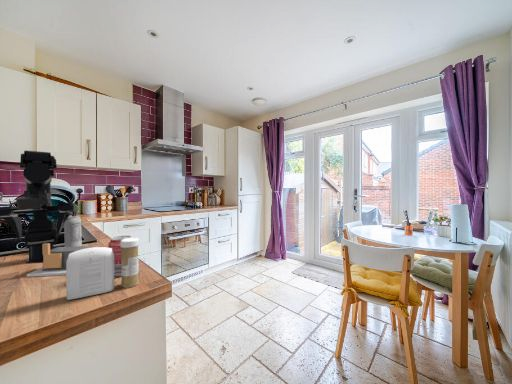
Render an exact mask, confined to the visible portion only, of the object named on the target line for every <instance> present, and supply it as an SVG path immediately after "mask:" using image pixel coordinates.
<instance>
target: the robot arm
mask: <svg viewBox="0 0 512 384" xmlns="http://www.w3.org/2000/svg"><path fill="white" fill-rule="evenodd" d="M19 168H20V169H21V170H23V172H22V173H23V178H24V179H25V190H24V192H23V195H22V196H20V197H16V199H15V201H16V206H12V205H11V206H0V220H3V221H5V222H7V224H8V225H9V226H10V227H11V230H12V231H13V233H14V235H15V236H16V238H17V240H21V239H22V236H23V233H22V232H23V227H22V224H23V223H22V216H20V215H23V214H24V215H25V214H26V215H27V214H33V215H32V217H33V218H32V220H31V221H28V224H27V229H26V230H24V246H25V248H28V260H25V261H24V263H42V262H43V263H44V261H43V251H42V244H47V243H50V250H52V249H54V248H55V246H54V244H56V243H58V242H59V235H61V232H62V230H63V228H64V224H65V222H66V220H67V218H68V217H69V216H71V215H72V216H73V215H74V213H76V212H78V211H79V210H78V209H79V208H78V205H77V204H76V203H74V202H59V203H58V205H53V204H52V195H53V192H52V189H51V187H52V186H51V183H52V181H53V180H52V177H55V176H54V175H55V169H57V159H56V158H55V156H54V155H52V153H51V152H49V151H35V150H23V153H20V162H19ZM51 212H56V216H57V221H56V222H57V223H56V227H54V223H53V221H52V220H51V219H49V217H48V213H51Z"/></svg>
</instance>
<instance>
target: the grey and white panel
mask: <svg viewBox="0 0 512 384" xmlns="http://www.w3.org/2000/svg"><path fill="white" fill-rule="evenodd" d="M86 248H92V245H82V246H76V247H65V246H58V247H54V249H52V250H50V254H57V253H62V267H61V268H46V269H44V266H42V267H40V268H39V269H36V270H34V271H32V272H29V273H27V274H26V277H27V278H31V277H34V278H35V277H50V276H52V277H53V276H66V262H67V259H68V255H69V254H70V253H72V252H75V251H78V250H81V249H86Z"/></svg>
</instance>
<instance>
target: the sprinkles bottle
mask: <svg viewBox="0 0 512 384" xmlns="http://www.w3.org/2000/svg"><path fill="white" fill-rule="evenodd" d="M139 242H140V241H139V238H138V237H131V238H127V239H123V240H121V251H122V252H121V255H122V259H121V275H122V276H121V284H120V286H121V288H125V289H127V288H132V287H135V286H137V285H139V283H140V281H139V244H140V243H139Z"/></svg>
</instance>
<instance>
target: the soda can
mask: <svg viewBox="0 0 512 384" xmlns="http://www.w3.org/2000/svg"><path fill="white" fill-rule="evenodd" d="M127 238H132V236H130V235H117V236H113V237H111V238H110V241H109V243H108V246H107V248H112V251H113V253H114V278H116V277H117V278H119V277H120V278H121V277H122V275H121V259H122V255H121V252H122V251H121V240H123V239H127Z"/></svg>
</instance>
